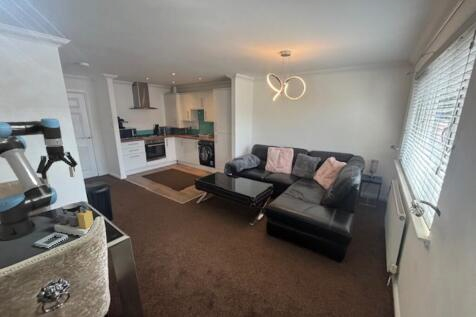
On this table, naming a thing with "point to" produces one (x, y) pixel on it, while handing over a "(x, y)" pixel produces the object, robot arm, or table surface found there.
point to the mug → (73, 207)
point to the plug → (85, 219)
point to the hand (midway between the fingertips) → (60, 180)
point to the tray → (40, 242)
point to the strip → (69, 224)
